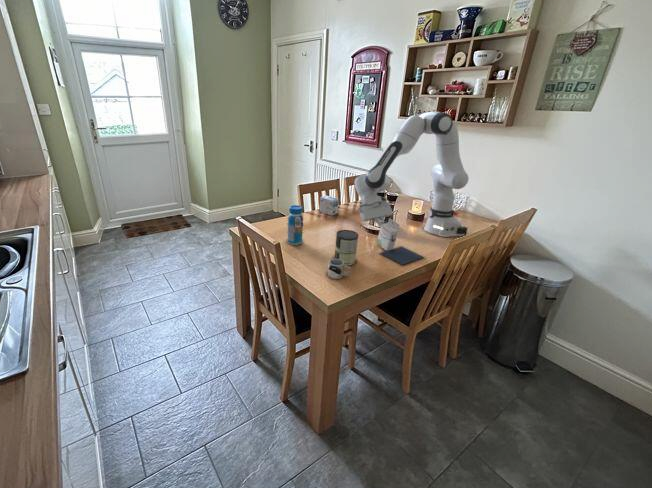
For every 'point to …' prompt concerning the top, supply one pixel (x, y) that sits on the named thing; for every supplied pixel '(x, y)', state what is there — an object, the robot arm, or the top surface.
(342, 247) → the coffee can
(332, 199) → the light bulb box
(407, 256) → the mat
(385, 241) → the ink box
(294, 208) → the beverage bottle
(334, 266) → the mug
